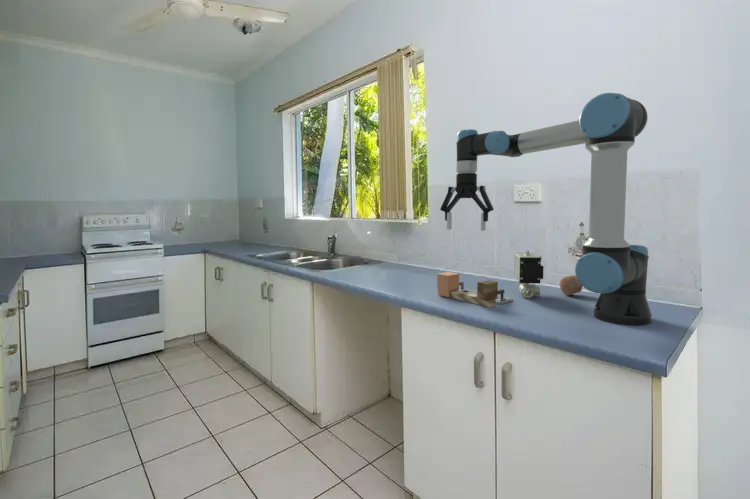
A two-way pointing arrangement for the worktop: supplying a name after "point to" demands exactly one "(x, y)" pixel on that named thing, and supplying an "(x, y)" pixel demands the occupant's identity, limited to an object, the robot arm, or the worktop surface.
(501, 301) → the flange strip
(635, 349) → the worktop surface
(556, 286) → the worktop surface
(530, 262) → the ball valve
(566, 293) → the tan rounded lump
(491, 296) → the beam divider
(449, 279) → the block
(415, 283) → the worktop surface
